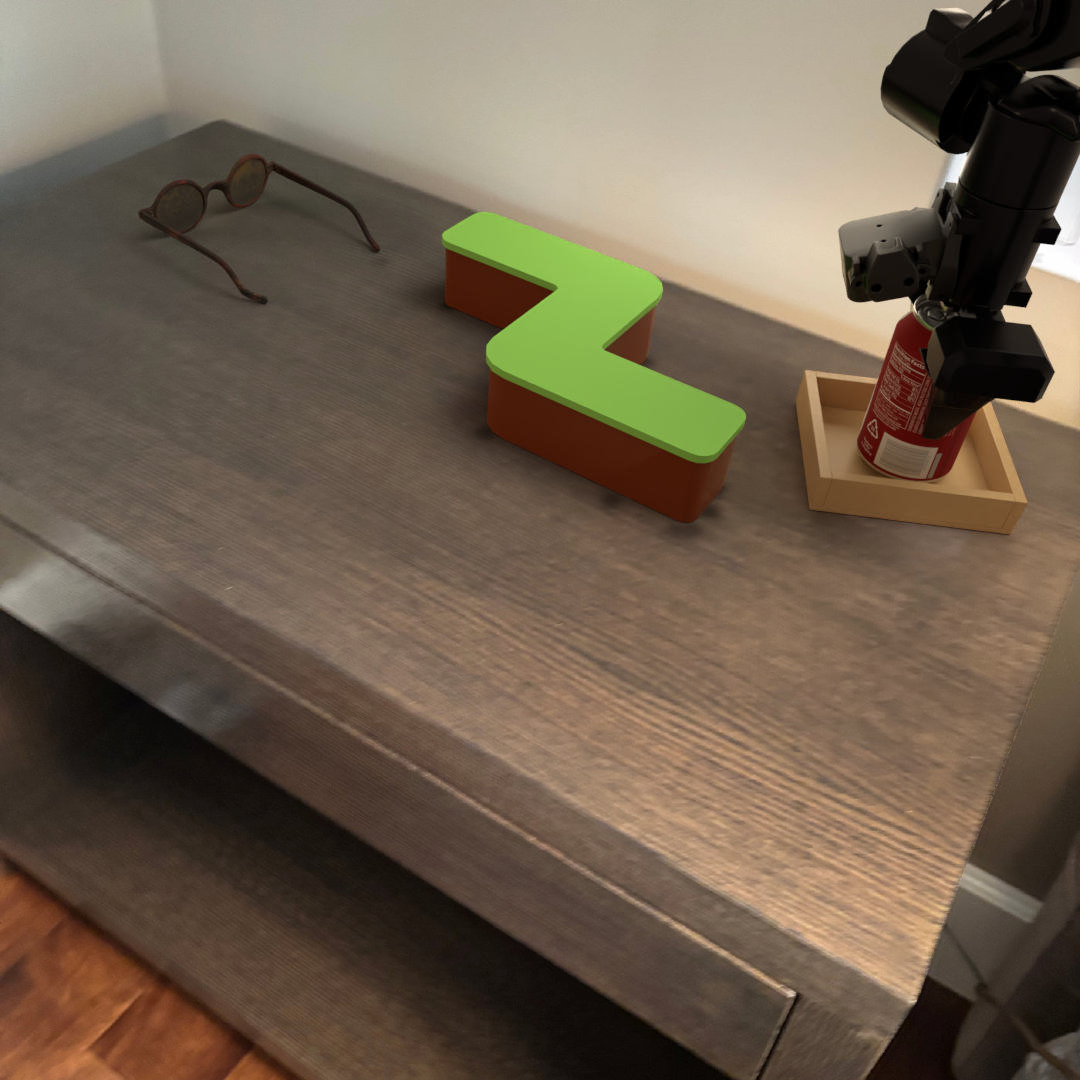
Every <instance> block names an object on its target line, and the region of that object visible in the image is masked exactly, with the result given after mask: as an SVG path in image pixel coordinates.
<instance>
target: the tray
mask: <svg viewBox="0 0 1080 1080" xmlns="http://www.w3.org/2000/svg"><path fill="white" fill-rule="evenodd" d="M877 380H878V378H874V377H866V376H858V375H849V374H841V373H832V372H823V371H817V370H816V371H815V370H810V369H809V370H808V369H805V370H804V372H803V375H802V378H801V382H800V384H799V385H800V386H799V388H798V391H797V395H796V398H795V406H796V415H797V422H798V423H797V425H798V431H799V439H800V446H801V454H802V462H803V470H804V477H805V485H806V492H807V493H806V494H807V500H808V502H807V503H808V507H809V508H808V509H809V510H810V511H816V512H817V511H818V512H824V513H825V512H827V513H835V514H840V515H841V514H842V515H843V514H844V515H850V516H858V517H866V518H875V519H882V520H890V521H891V520H892V521H899V522H906V523H915V524H922V525H931V526H937V527H938V526H939V527H946V528H953V529H962V530H969V531H977V532H986V533H994V534H1003V535H1012V533H1013V531H1014V529H1015V527H1016V525H1017V524H1018V522H1019V520H1020V518H1021V516H1022V514H1023V513H1024V510H1025V509H1026V507H1027V505H1028V500H1027V497H1026V494H1025V491H1024V489H1023V486H1022V483H1021V480H1020V478H1019V475H1018V473H1017V469H1016V467H1015V465H1014V461H1013V459H1012V455H1011V453H1010V450H1009V448H1008V445H1007V442H1006V440H1005V437H1004V434H1003V431H1002V429H1001V425H1000V423H999V421H998V417H997V415H996V412H995V409H994V407H993V404H992V401H991V402H989V403H988V404H986V405H985V406H983V407H982V408H980V409H979V410H978V411H977V412H976V414H975V417H974V419H973V421H972V424H971V426H970V428H969V431H968V433H967V435H966V437H965V440H964V442H963V444H962V447H961V449H960V451H959V453H958V456H957V458H956V460H955V463H954V465H953V467H952V469H951V471H950V472H949V473H948V475H946V476H945V477H944V478H942V479H940V480H937V481H934V482H929V483H922V482H913V481H905V480H897V479H892V478H890V477H887V476H885V475H883V474H881V473H879V472H878V471H876V470H874V469H873V468H872V467H870V466H869V465H868V464H867V463H866V462H865V461H864V460H863V458H862V457H861V455H860V454H859V452H858V449H857V438H858V435H859V432H860V429H861V426H862V423H863V420H864V418H865V415H866V412H867V409H868V406H869V403H870V400H871V397H872V394H873V391H874V388H875V385H876V383H877Z"/></svg>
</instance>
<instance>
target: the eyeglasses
mask: <svg viewBox="0 0 1080 1080" xmlns="http://www.w3.org/2000/svg"><path fill="white" fill-rule="evenodd" d="M272 172H274V173H276V174H277V175H280V176H282V177H284V178H286V179H288V180H290V181H292V182H294V183H296V184H298V185H300V186H302V187H304V188H306V189H309V190H311V191H313V192H315V193H317V194H319V195H321V196H323V197H326V198H328V199H329V200H332V201H334V202H336V203H337V204H339V205H341V206H343V207H344V208H346V209H347V210H348V211H349V212H350V213H351V214H352V215H353V217H354V218H355V220H356V222H357V224H358V227H360V230H361V231H362V234H363V236H364V237H365V239H366V241H367V243H368V244H369V245H370V246H371V248H372V249H373V250H374V251H375V252H376V253H378V252H380V251H381V246H380V245H379V244H378V243H377V241H376V240H375V239H374V238H373V236H372V234H371V233H370V231H369V229H368V227H367V224H366V223H365V221H364V219H363V217H362V216H361V214H360V212H359V211H358V209H357V208H356V207H355V206H354V205H353V204H352V203H351V202H350V201H349V200H347V199H345V198H344V197H341V196H340V195H338V194H337V193H334V192H332V191H331V190H328V189H326V188H325V187H323V186H321V185H320V184H317V183H315V182H314V181H312V180H310V179H308V178H306V177H304V176H302V175H300V174H298V173H296V172H294V171H292V170H290V169H288V168H286V167H285V166H283V165H281V164H279V163H277V162H275V161H274V160H271V161H269V162H267V159H266V158H265V157H264V156H263V155H260V154H258V153H248V154H246V155H244V156H242V157H241V158H239V159H238V160H236V162H235V163H234V165H232V167H231V169H230V171H229V173H228V174H227V177H226V178H225V179H224V180H215V181H212V182H210V183H208V184H207V185H206V186H204V187H202V186H201V185H200V184H198V183H197V182H196V181H194V180H192V179H187V178H182V179H176V180H173V181H170V182H169V183H168V184H166V185H164V187H163V188H162V189H161V190H160V191H159V193H158V194H157V196H156V197H155V198H154V201H153V202H152V204H151V205H150V206H149V207H145V208H142V209H141V208H140V209H139V210H138V212H137V215H138V218H139V219H140V220H142V221H143V222H145V223H146V224H148V225H149V226H151V227H153V228H155V229H156V230H158V231H160V232H162V233H164V234H165V235H168V236H169V237H171V238H172V239H174V240H177V241H178V242H180V243H181V244H184V245H186V246H188V247H189V248H191V249H193V250H194V251H196V252H198V253H200V254H201V255H204V256H205V257H207V259H211V261H213V262H215V263H216V264H217V265H218V266H220V267H221V268H222V269H223V270H224V271H225V273H226V274H227V275H228V277H229V279H231V281H232V283H233V284H234V286H235V287H236V288H237V290H238V292H239V293H240V294H241V295H243V296H244V297H245V298H248V299H249V300H252V301H255V302H257V303H261V304H267V303H268V301H269V298H268V296H266V295H263V294H260V293H257V292H254V291H251V290H250V289H248V288H246V287H245V285H244V284H243V282H242V281H241V280H240V278H239V277H238V275H237V274H236V273H235V271H234V270H233V268H232V267H231V266H230V264H228V263H227V262H226V261H225V260H224V259H223V258H222V257H221V256H219V255H218V254H216V253H214V252H213V251H211V250H210V249H208V248H207V247H205V246H204V245H201V244H200V243H198V242H197V241H195V240H194V239H192V238H190V237H189V236H187V235H185V234H184V233H187V232H189V231H191V230H193V229H194V228H195V227H196V226H197V225H198V224H199V223H200V222H201V221H202V219H203V218H204V216H205V214H206V211H207V208H208V199H209V194H210V192H211V191H212V190H217V191H220V192H222V194H223V195H224V197H225V199H226V201H227V202H228V203H229V204H230V205H231V206H233V207H234V208H238V209H242V208H247V207H249V206H251V205H252V204H254V203H255V202H256V201H257V200H258V199H259V198H260V197H261V196H262V194H263V193H264V190H265V188H266V186H267V184H268V180H269V176H270V174H272Z"/></svg>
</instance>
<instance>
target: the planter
mask: <svg viewBox="0 0 1080 1080" xmlns="http://www.w3.org/2000/svg"><path fill="white" fill-rule="evenodd" d="M441 244H442V246H443V247H444V248H445V268H444V269H445V271H444V273H445V274H444V276H445V277H444V303H445V304H446V306H448V307H449V308H452V309H455V310H456V311H459V312H462V313H464V314H466V315H468V316H472V317H474V318H475V319H478V320H480V321H483V322H485V323H488V324H490V325H493V326H495V327H497V328H500V329H501V331H499V332H498V333H497V334H495V335H494V336H492V337H491V339H490V340H489V341H488V343H487V344H486V346H485V347H486V348H485V363H486V364H487V366H488V368H489V372H488V393H487V394H488V395H487V414H486V415H487V416H486V424H487V426H488V427H489V429H490V430H491V432H492V433H493V434H495V436H496V435H497V436H498V437H499V438H501V439H503V440H505V441H507V442H509V443H511V444H513V445H515V446H518V447H519V448H522V449H523V450H526V451H528V452H530V453H532V454H534V455H537V456H539V457H541V458H543V459H545V460H547V461H549V462H551V463H554V464H555V465H558V466H560V467H562V468H564V469H566V470H568V471H571V472H573V473H575V474H577V475H579V476H582V477H584V478H585V479H588V480H590V481H592V482H594V483H596V484H598V485H601V486H602V487H605V488H606V489H609V490H611V491H613V492H616V493H617V494H620V495H622V496H624V497H626V498H628V499H631V500H633V501H634V502H637V503H639V504H641V505H643V506H646V507H648V508H650V509H652V510H654V511H656V512H658V513H660V514H663V515H665V516H666V517H669V518H671V519H673V520H675V521H678V522H681V523H693V522H695V521H696V520H698V519H699V517H701V515H702V514H703V513H704V512H705V510H706V509H707V508H708V507H709V505H710V504H711V503H712V502H713V501H714V499H715V498H716V497H717V496H718V495H719V494H720V492H722V490H723V488H724V486H725V483H726V480H727V474H728V472H729V467H730V463H731V459H732V456H733V453H734V448H735V444H736V440H737V436H738V435H739V434H740V432H741V431H742V430H744V426H745V424H746V420H747V415H746V411H744V409H743V408H741V407H740V406H738V405H736V404H735V403H732V402H730V401H727V400H725V399H723V398H720V397H718V396H715V395H713V394H711V393H708V392H707V391H704V390H701V389H698V388H696V387H694V386H692V385H689V384H687V383H684V382H682V381H679V380H676V379H674V378H673V377H670V376H668V375H666V374H663V373H660V372H658V371H655V370H653V369H651V368H648V367H646V366H643V365H642V364H643V363H644V362H645V361H646V359H647V357H648V356H649V351H650V346H651V341H652V335H653V328H654V323H655V318H656V311H657V306H658V304H659V303H660V301H661V300H662V298H663V293H664V287H663V283H662V281H661V280H660V279H659V278H658V277H657V276H656V275H655V274H653V273H652V272H650V271H648V270H645V269H644V268H641V267H638V266H636V265H633V264H630V263H629V262H625V261H623V260H620V259H618V258H615V257H612V256H609V255H606V254H604V253H601V252H598V251H596V250H594V249H591V248H588V247H586V246H583V245H580V244H578V243H574V242H572V241H570V240H567V239H564V238H562V237H559V236H557V235H553V234H551V233H548V232H547V231H543V230H540V229H537V228H535V227H533V226H530V225H528V224H525V223H521V222H519V221H516V220H513V219H511V218H508V217H506V216H503V215H500V214H497V213H495V212H491V211H479V212H476V213H473V214H471V215H469V216H468V217H466V218H464V219H463V220H461V221H459V222H458V223H456V224H455V225H452V226H451V227H449V228H447V229H446V230H445V231H443V233H442V234H441Z"/></svg>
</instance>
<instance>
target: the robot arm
mask: <svg viewBox="0 0 1080 1080" xmlns="http://www.w3.org/2000/svg"><path fill="white" fill-rule="evenodd" d="M928 14H929V15H928V17H927V21H926V24H925V27H924V29H922V30H920V31H918V32H916V33H915V34H914V35H912V36H911V37H910V38H909V39H908V40H907V41H905V43H903V45H902V46H901V47H900V48H899V49H898V51H897V52H896V53H895V54H894V55H893V58H892V60H891V61H890V63H888V64H887V65H886V67H885V69H884V72H883V73H882V74H883V75H882V78H881V83H880V88H879V89H880V100H881V103H882V106H883V107H882V108H884V110H885V111H886V112H887V114H888V115H890V116H891V117H893V118H894V119H896V120H897V121H899V122H900V123H902V124H903V125H905V126H906V127H907V128H909V129H911V130H913V131H914V132H915V133H917V134H918V135H920V136H921V137H922V138H924V139H925V140H927V141H929V142H930V143H931V144H933V145H934V146H936V147H937V148H938V149H940V150H942V151H943V152H945V153H947V154H951V155H963V154H966V155H965V157H964V161H963V164H962V166H961V169H960V172H959V174H958V175H959V176H958V178H957V180H956V182H953V181H945V183H944V186H943V187H939V188H938V189H937V190H936V191H937V192H936V194H935V196H934V200H933V202H932V204H931V206H930V208H929V207H919V206H915V207H914V208H912V209H909V210H907V209H906V210H905V209H904V210H899V211H893V212H888V213H884V214H879V215H878V214H877V215H874V216H869V217H864V218H859V219H854V220H851V221H847V222H845V223H843V224H841V225H840V226H839V227H838V231H837V232H838V242H839V252H840V264H841V274H842V279H843V282H844V287H845V291H846V292H845V293H846V297H847V299H848V300H849V301H852V303H857V304H858V303H860V304H861V303H868V302H874V303H882V302H887V301H888V302H889V301H894V300H898V299H904V298H908V299H909V301H910V307H909V312H910V311H911V310H912V309H913V306H914V303H915V301H916V300H917V299H918V298H919V297H920V296H922V295H924V294H926V296H927V299H928V300H932V301H940V303H941V306H942V309H943V310H944V311H947V312H956V313H957V316H954V317H952V318H951V319H949V320H947V321H945V322H944V323H942V324H940V325H938V326H936V327H935V328H934V330H933V333H932V335H931V338H930V340H929V343H928V348H920V353H921V356H922V359H923V363H924V366H925V369H926V372H927V374H928V376H929V377H930V378H931V379H932V385H931V390H930V394H929V399H928V403H927V408H926V412H925V417H924V423H923V428H922V437H923V438H924V439H930V440H939V439H940V438H942V437H943V436H944V435H946V434H947V433H948V432H950V431H951V430H952V429H954V428H955V427H956V426H958V425H959V424H960V423H962V422H963V421H964V420H966V419H967V418H968V417H970V416H971V415H972V414H974V413H975V412H976V411H978V410H979V409H980V408H982V407H983V406H985V405H986V404H988V403H989V402H991V403H992V401H994V400H997V399H998V400H1006V401H1014V402H1022V403H1029V404H1035V403H1037V402H1039V401H1040V400H1042V399H1043V397H1044V395H1045V394H1046V391H1047V389H1048V387H1049V385H1050V383H1051V381H1052V379H1053V377H1054V375H1055V374H1056V371H1055V368H1054V367H1053V365H1052V363H1051V360H1050V357H1049V356H1048V353H1047V351H1046V349H1045V347H1044V345H1043V342H1042V341H1041V339H1040V337H1039V335H1038V334H1037V333H1036V331H1035V329H1034V327H1033V326H1032V324H1028V323H1021V322H1012V321H1011V322H1010V321H1006V319H1005V316H1004V314H1003V312H1002V310H1003V309H1004V306H1006V307H1007V306H1008V307H1015V308H1024V309H1026V308H1027V307H1028V304H1029V302H1030V300H1031V298H1032V296H1033V293H1034V292H1033V290H1032V288H1031V287H1030V285H1029V282H1028V280H1027V275H1028V273H1029V272H1030V269H1031V266H1032V265H1033V262H1034V261H1035V260H1034V259H1035V257H1036V255H1037V253H1038V252H1039V249H1040V246H1041V245H1050V246H1055V245H1056V242H1057V240H1058V238H1059V236H1060V234H1061V231H1062V227H1061V225H1060V223H1059V221H1058V220H1057V219H1056V216H1055V213H1056V210H1057V207H1058V206H1059V203H1060V201H1061V198H1062V197H1063V194H1064V191H1065V189H1066V187H1067V184H1068V182H1069V180H1070V178H1071V175H1072V173H1073V171H1074V168H1075V166H1076V164H1077V162H1078V160H1079V158H1080V86H1079V85H1077V84H1075V83H1073V82H1072V81H1070V80H1068V79H1066V78H1064V77H1062V76H1060V75H1057V74H1039V75H1036V76H1034V77H1031V76H1029V75H1027V73H1037V72H1049V71H1050V72H1051V71H1052V72H1053V71H1064V70H1079V69H1080V0H991V1H990V2H989V3H988V4H987V5H986V6H985V7H984V8H983V9H982V10H980V12H978V14H977V15H975V17H973V16H972V14H971V13H969V12H967V11H965V10H964V9H962V8H960V7H947V8H946V7H945V8H933V9H931V10H930V11H929V13H928Z"/></svg>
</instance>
